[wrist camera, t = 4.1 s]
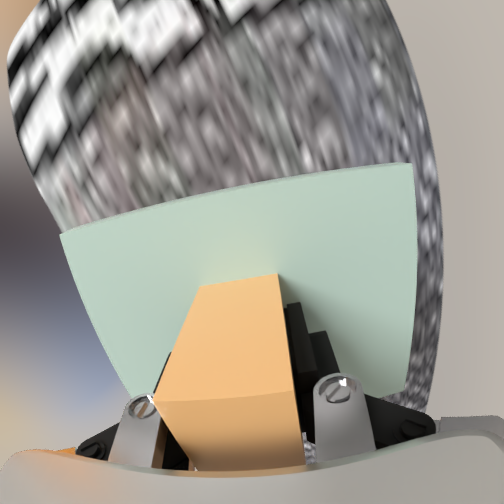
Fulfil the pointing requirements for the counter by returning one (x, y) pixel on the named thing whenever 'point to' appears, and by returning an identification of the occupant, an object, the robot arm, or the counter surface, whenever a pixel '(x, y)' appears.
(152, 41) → the counter surface
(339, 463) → the robot arm
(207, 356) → the lid
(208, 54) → the counter surface
